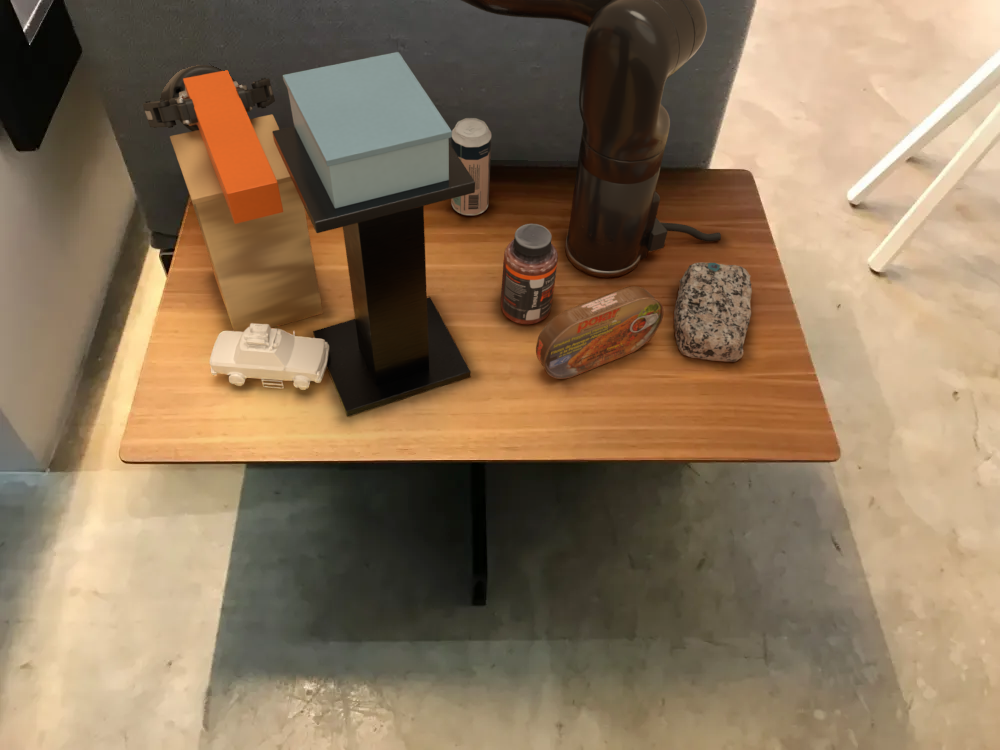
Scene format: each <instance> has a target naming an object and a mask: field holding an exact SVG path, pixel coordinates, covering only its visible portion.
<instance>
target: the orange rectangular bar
mask: <svg viewBox="0 0 1000 750" xmlns="http://www.w3.org/2000/svg"><path fill="white" fill-rule="evenodd" d="M183 81H184V85H185V88H186V92H187V96H188V98H190V99H192V101H193V104H194V110H195V113H196V116H197V120H198V122H197V126H198V128H199V131H200V133H201V136H202V139H203V141H204V144H205V147H206V149H207V152H208V155H209V157H210V160H211V162H212V165H213V168H214V170H215V173H216V176H217V178H218V181H219V183H220V186H221V189H222V191H223V194H224V197H225V199H226V202H227V205H228V207H229V210H230V212H231V215H232V218H233V220H234V223H235V224H237V223H241V222H245V221H249V220H253V219H257V218H261V217H265V216H270V215H274V214H278V213H282V212H283V207H282V202H281V197H280V192H279V187H278V182H277V180H276V177H275V175H274V173H273V171H272V168H271V166H270V164H269V162H268V159H267V157H266V155H265V153H264V150H263V148H262V146H261V144H260V141H259V139H258V137H257V135H256V132H255V130H254V128H253V126H252V123H251V121H250V119H251V118H250V116H249V115H248V112H246V110H245V107H244V105H243V103H242V101H241V98H239V95H238V93H237V91H236V90H237V89H236V87H235V85H234V83H233V80H232V78H231V76H230V74H229V71H228V70H225V71H220V72H215V73H209V74H204V75H199V76H194V77H189V78H183Z"/></svg>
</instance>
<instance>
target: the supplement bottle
mask: <svg viewBox="0 0 1000 750" xmlns="http://www.w3.org/2000/svg"><path fill="white" fill-rule="evenodd" d="M552 239H553V237H552V233H551V231H550V230H549V229H548V228H547V227H546V226H544V225H541V224H538V223H526V224H523V225H521V226H519V227H518V228H517V229H516V230H515V232H514V237H513V239H512V240H511V241H510V242H509V243H508V244H507V245H506V247H505V250H504V254H503V262H502V264H503V265H502V275H501V277H502V279H501V292H500V308H501V311H502V314H503V315H505V317H506V318H508V319H509V320H511V321H512V322H513V323H517V324H519V325H520V324H521V325H534V324H537V323H540V322H542V321H544V320H545V319H546V318H547V317H548V316H549V315H550V312H551V309H552V305H553V297H554V292H555V291H554V290H555V289H554V288H555V283H556V278H557V277H556V276H557V269H558V260H559V254H558V250H557V249H556V247H555V246H554V245H553V243H552Z"/></svg>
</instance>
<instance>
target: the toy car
mask: <svg viewBox="0 0 1000 750" xmlns="http://www.w3.org/2000/svg"><path fill="white" fill-rule="evenodd" d="M328 355H329V344H328V343H327V342H325V340H324V339H319V338H314V337H309V336H301V335H296V331H295V330H292V333H290V332H288V331H286V330H284V329H282V328H276V327H274V328H271V327H270V326H269V324H255V323H251V324H250V327H248V328H247V329H246V330H245V331H244V332H238V331H233V330H222V331H221V332H220V333H218V335H217V337H216V340H215V342H214V344H213V348H212V350H211V353H210V357H209V366H210V373H211V375H212V376H218V374H219V375H226V376H228V382H229V383H230V384H231V385H235V386H237V387H242V386H244V385H245V382H246V379H247V378H248V379H259V380H261V384H262V386H263V388H269V389H271V388H272V389H285V387H284V386H285V385H284V382H283V381H287V382H293V384H292V385H293V386H294V387H295V388H296V389H299V390H300V391H301V390H302V391H306V390H308V389H309V387H310V384H311V382H314V383H317V384H320V383H321V382H322V381H323V378H324V375H325V372H326V369H327V367H326V366H327V361H328ZM264 381H265V382H264ZM272 382H273V383H272ZM274 382H276V383H274ZM267 385H272V386H267ZM280 386H281V387H280Z"/></svg>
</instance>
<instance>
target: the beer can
mask: <svg viewBox="0 0 1000 750" xmlns="http://www.w3.org/2000/svg"><path fill="white" fill-rule="evenodd" d="M451 131H452V137H451V138H450V141H451V142H450V143H451V144H450V145H451V146H452V148H453V149H454V151H455V152H456V154H457V155H458V157H459V158H460V160H461V161H462V163H463V164H464V166H465V168H466V169H467V171H468V172H469V174H470V175H471V177H472V178H473V180H474V181H475V193H472V194H468V195H464V196H460V197H456V198H452V199H450V203H451V206H452V208H453V210H454V211H455V212H457V213H459V214H461V215H463V216H478V215H480V214H482V213H484V212H485V211H486V210H487V209H488V207H489V202H490V199H489V198H490V179H491V156H492V155H491V154H492V153H491V152H492V132H491V130H490V128H489V126H488V125H487V123H486V122H485V121H484V120H481V119H479V118H476V117H466V118H463V119H461V120H458V121H457V122H456V124H455V126H454V128H453V129H452V130H451Z"/></svg>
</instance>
